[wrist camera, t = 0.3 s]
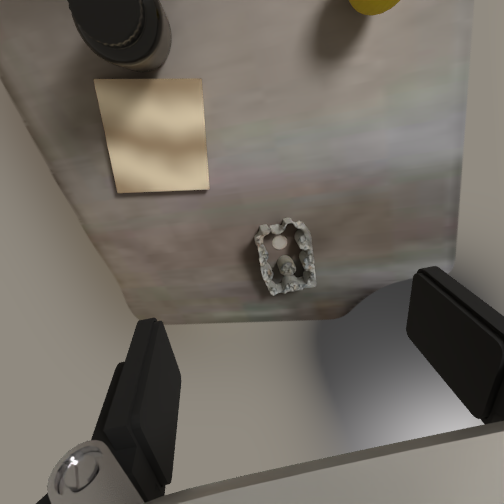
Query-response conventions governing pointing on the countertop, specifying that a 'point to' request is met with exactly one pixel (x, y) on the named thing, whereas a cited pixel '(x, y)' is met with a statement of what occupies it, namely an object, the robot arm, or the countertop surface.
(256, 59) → the countertop surface
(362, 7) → the lemon
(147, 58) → the supplement bottle
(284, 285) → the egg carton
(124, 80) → the cutting board
